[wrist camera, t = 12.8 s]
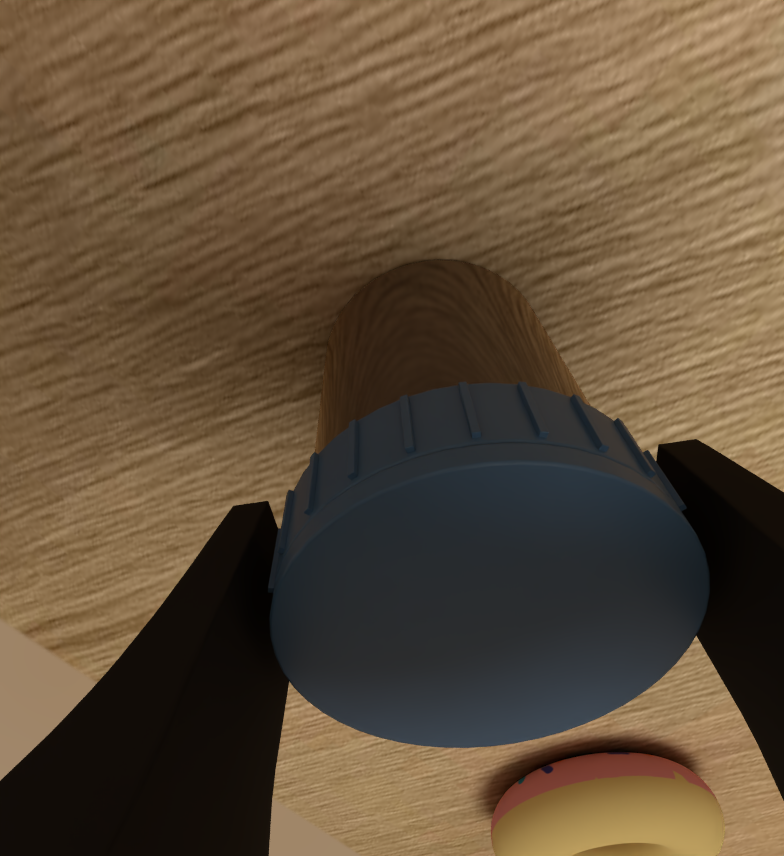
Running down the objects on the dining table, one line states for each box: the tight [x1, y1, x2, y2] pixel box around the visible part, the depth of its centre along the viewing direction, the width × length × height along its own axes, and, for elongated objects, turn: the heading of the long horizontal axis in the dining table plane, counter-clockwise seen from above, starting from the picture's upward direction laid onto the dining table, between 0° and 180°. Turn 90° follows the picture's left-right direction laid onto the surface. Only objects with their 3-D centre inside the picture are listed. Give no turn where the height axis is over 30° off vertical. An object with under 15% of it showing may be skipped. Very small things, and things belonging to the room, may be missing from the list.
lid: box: [268, 382, 710, 748], centre depth 9 cm, size 6×6×2 cm
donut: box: [491, 752, 725, 856], centre depth 26 cm, size 10×5×9 cm
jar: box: [315, 260, 590, 454], centre depth 12 cm, size 5×5×8 cm
